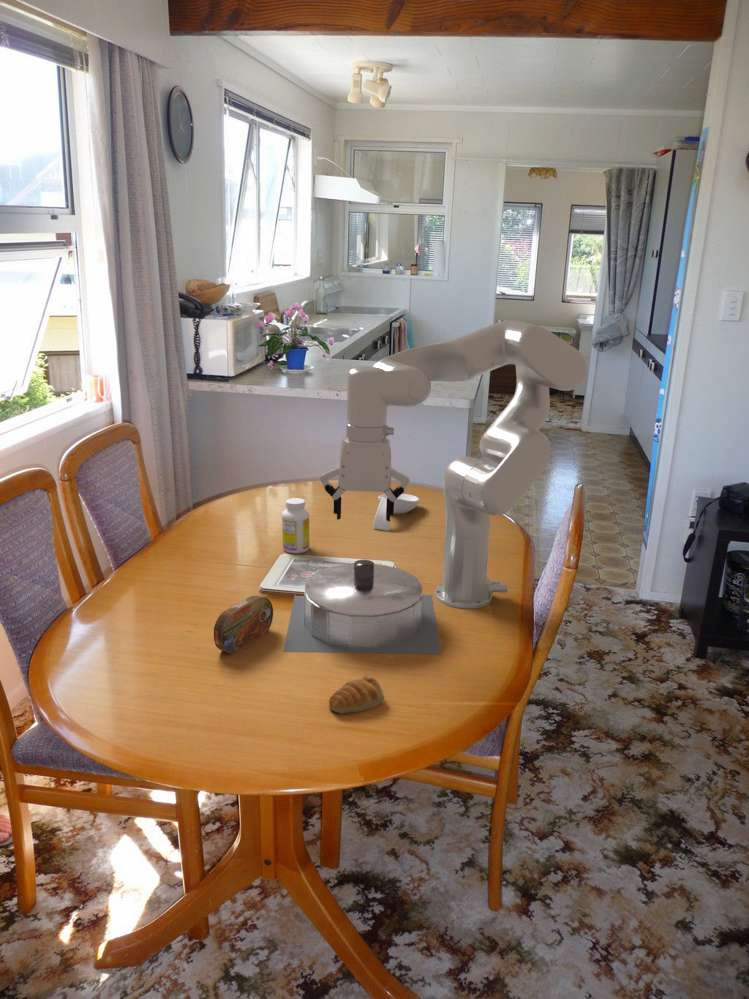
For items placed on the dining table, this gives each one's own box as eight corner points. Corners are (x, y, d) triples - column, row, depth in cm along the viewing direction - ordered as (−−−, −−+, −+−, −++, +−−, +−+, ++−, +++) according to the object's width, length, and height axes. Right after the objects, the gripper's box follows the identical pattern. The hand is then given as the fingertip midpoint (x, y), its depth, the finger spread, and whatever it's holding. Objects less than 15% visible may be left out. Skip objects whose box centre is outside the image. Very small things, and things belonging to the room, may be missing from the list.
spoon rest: (383, 502, 241) (384, 478, 239) (422, 506, 238) (423, 483, 236) (360, 529, 219) (361, 503, 217) (403, 534, 216) (404, 508, 214)
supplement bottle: (305, 543, 208) (305, 495, 204) (312, 553, 202) (312, 503, 198) (280, 545, 206) (279, 497, 202) (285, 555, 200) (285, 506, 196)
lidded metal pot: (417, 596, 179) (420, 542, 175) (424, 650, 156) (427, 590, 152) (308, 595, 178) (308, 540, 174) (300, 648, 156) (299, 587, 152)
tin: (224, 661, 152) (222, 620, 149) (211, 656, 153) (209, 616, 151) (275, 629, 164) (274, 591, 161) (262, 625, 165) (261, 587, 163)
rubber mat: (431, 596, 180) (431, 595, 180) (441, 655, 155) (441, 654, 155) (295, 594, 179) (295, 592, 179) (283, 653, 155) (283, 651, 155)
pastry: (344, 722, 134) (344, 702, 133) (319, 705, 139) (319, 685, 138) (387, 703, 140) (387, 683, 139) (362, 687, 145) (363, 668, 144)
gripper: (410, 429, 158) (406, 513, 164) (321, 426, 158) (320, 510, 163) (412, 439, 151) (408, 526, 156) (319, 436, 151) (318, 523, 156)
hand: (363, 518), depth 160 cm, fingers open, 9 cm apart
